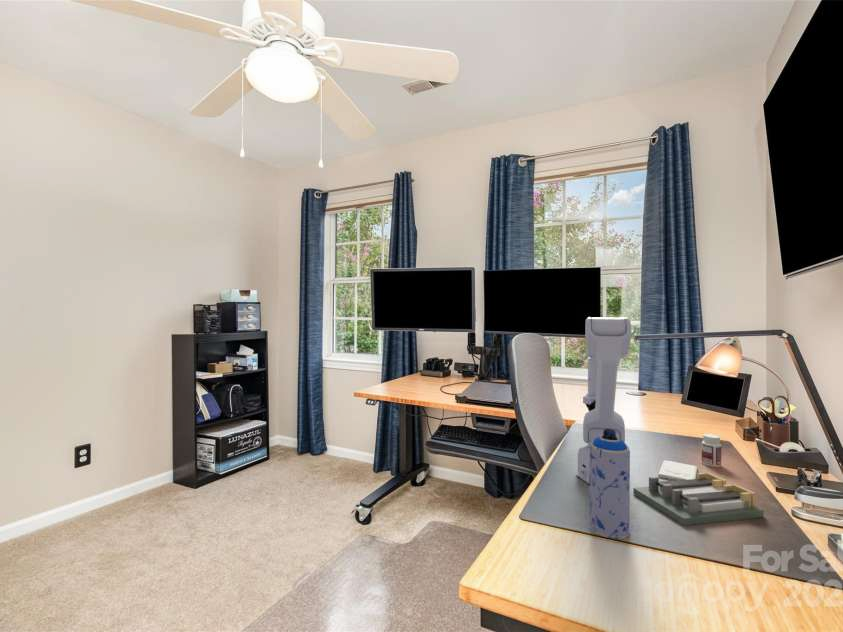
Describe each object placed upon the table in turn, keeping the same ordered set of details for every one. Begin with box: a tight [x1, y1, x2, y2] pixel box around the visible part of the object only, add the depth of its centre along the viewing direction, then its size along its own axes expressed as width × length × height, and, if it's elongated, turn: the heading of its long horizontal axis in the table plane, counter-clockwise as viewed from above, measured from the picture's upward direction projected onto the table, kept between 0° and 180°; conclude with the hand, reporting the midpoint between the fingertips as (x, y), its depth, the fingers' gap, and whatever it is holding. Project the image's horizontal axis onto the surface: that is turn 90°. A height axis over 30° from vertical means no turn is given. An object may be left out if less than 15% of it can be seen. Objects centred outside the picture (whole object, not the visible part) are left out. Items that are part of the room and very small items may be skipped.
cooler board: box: [632, 471, 765, 527], centre depth 94 cm, size 20×15×4 cm
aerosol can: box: [587, 429, 631, 540], centre depth 83 cm, size 8×8×20 cm
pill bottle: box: [701, 433, 722, 468], centre depth 119 cm, size 5×5×8 cm
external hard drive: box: [657, 460, 698, 481], centre depth 112 cm, size 2×8×12 cm
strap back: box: [656, 478, 712, 488], centre depth 97 cm, size 14×3×1 cm, turn 101°
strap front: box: [680, 491, 740, 502], centre depth 91 cm, size 14×3×1 cm, turn 101°
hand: (597, 424), depth 123 cm, fingers closed
